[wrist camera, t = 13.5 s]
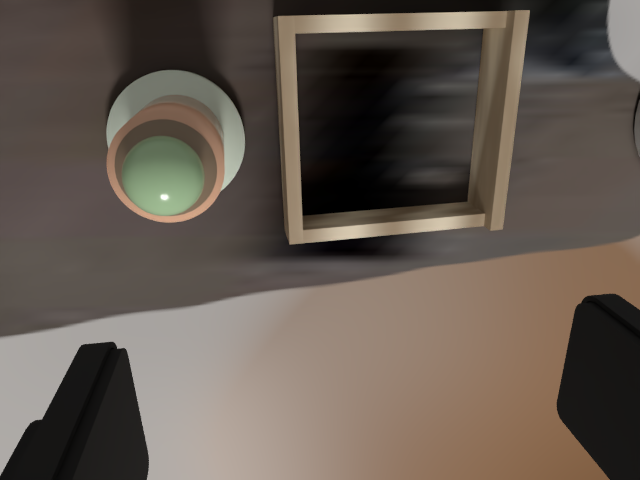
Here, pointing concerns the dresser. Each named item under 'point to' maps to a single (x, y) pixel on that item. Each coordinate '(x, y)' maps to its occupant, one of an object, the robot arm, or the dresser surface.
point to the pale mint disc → (189, 86)
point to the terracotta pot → (168, 159)
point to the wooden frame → (488, 141)
